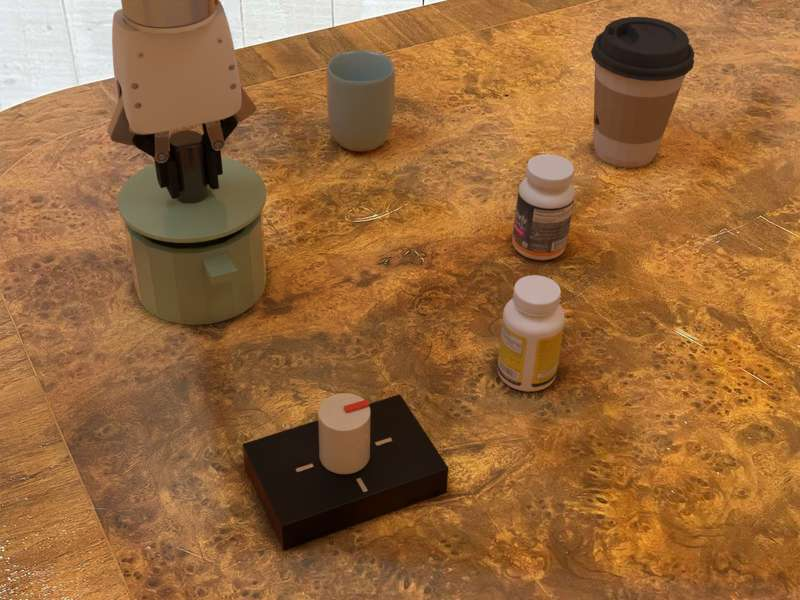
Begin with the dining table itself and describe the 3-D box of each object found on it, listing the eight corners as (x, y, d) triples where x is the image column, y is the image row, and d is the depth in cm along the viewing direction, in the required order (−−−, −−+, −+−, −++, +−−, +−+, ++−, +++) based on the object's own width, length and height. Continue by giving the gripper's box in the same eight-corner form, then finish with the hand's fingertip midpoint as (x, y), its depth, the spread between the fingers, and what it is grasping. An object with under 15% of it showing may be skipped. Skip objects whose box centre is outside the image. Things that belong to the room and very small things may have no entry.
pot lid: (140, 263, 93) (129, 195, 88) (103, 182, 102) (91, 117, 97) (287, 226, 97) (284, 160, 93) (239, 152, 106) (234, 89, 102)
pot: (164, 357, 97) (153, 285, 92) (116, 247, 109) (103, 178, 104) (294, 321, 101) (291, 250, 96) (233, 219, 114) (227, 151, 108)
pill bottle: (507, 231, 114) (516, 151, 107) (559, 229, 114) (572, 149, 108) (517, 263, 109) (527, 182, 103) (571, 261, 110) (585, 181, 103)
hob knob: (330, 480, 83) (329, 433, 79) (312, 445, 85) (310, 398, 82) (377, 465, 84) (378, 419, 81) (358, 431, 87) (358, 384, 83)
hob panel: (283, 551, 81) (281, 524, 79) (244, 468, 87) (242, 442, 85) (446, 492, 86) (449, 466, 84) (399, 418, 92) (400, 392, 90)
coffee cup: (577, 122, 131) (595, 7, 122) (671, 132, 130) (696, 17, 121) (574, 172, 123) (593, 53, 113) (674, 183, 122) (702, 63, 112)
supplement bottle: (557, 356, 99) (571, 274, 92) (553, 397, 95) (568, 314, 88) (499, 348, 99) (509, 266, 93) (493, 389, 95) (503, 305, 89)
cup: (387, 123, 130) (389, 48, 124) (398, 157, 124) (400, 80, 118) (323, 127, 129) (322, 51, 122) (331, 162, 123) (330, 84, 116)
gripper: (249, -36, 92) (261, 147, 104) (56, -5, 86) (92, 185, 98) (279, -1, 87) (289, 187, 98) (76, 34, 81) (112, 229, 93)
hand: (191, 184), depth 98 cm, fingers closed on pot lid, 3 cm apart
